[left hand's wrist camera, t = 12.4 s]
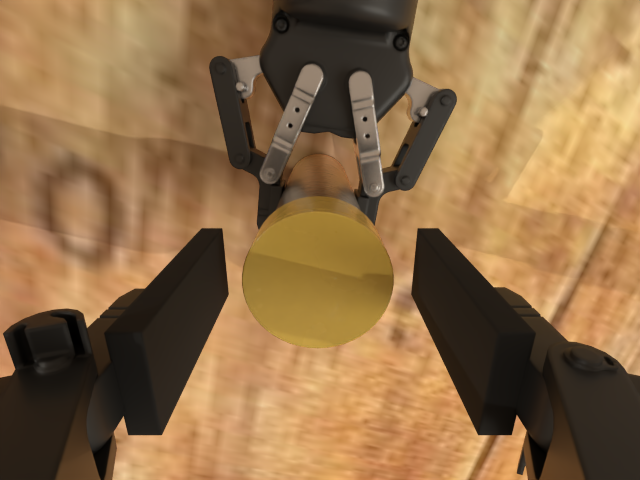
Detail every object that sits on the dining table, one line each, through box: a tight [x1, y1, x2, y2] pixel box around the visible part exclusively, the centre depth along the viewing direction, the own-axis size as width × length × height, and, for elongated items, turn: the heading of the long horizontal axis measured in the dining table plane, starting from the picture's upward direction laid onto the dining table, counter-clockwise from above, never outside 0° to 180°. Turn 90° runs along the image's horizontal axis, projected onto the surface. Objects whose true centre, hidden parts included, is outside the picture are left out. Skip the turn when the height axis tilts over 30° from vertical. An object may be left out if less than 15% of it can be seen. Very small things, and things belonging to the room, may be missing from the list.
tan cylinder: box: [276, 154, 361, 211], centre depth 21 cm, size 5×5×17 cm
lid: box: [242, 196, 394, 348], centre depth 14 cm, size 5×5×2 cm
